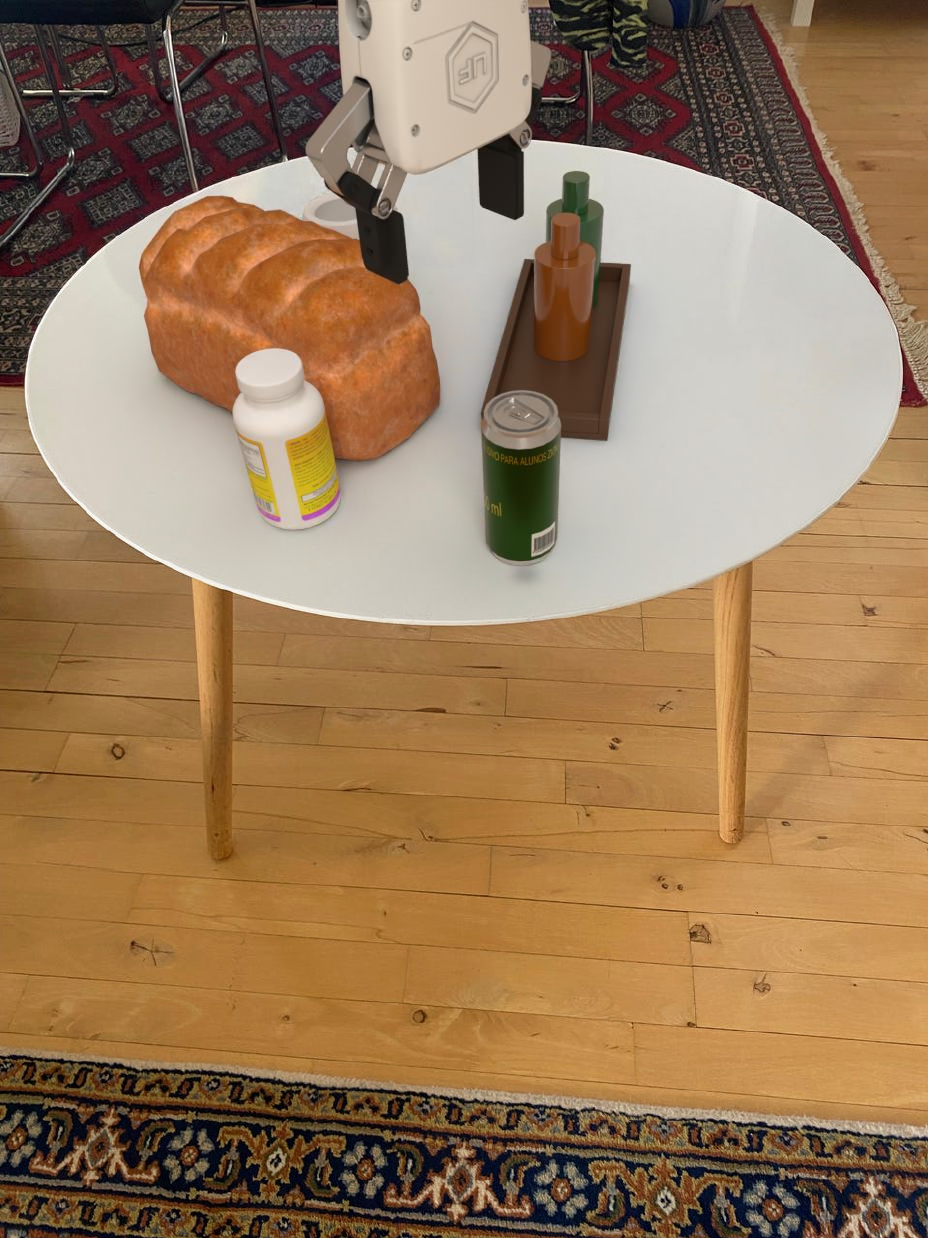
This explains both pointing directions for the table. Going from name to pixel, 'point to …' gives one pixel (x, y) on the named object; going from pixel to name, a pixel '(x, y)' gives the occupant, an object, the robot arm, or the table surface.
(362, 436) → the bread
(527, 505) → the beer can
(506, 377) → the tray
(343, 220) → the mug
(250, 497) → the table surface
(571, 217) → the amber bottle
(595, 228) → the green bottle
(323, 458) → the supplement bottle
